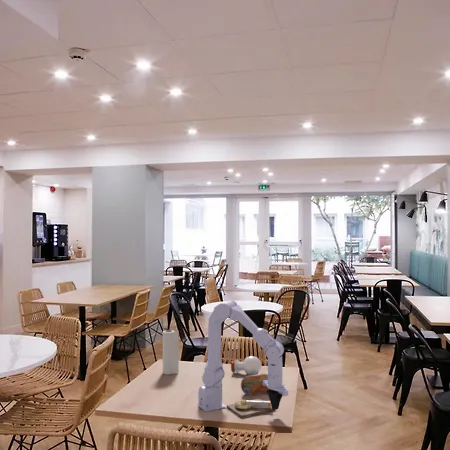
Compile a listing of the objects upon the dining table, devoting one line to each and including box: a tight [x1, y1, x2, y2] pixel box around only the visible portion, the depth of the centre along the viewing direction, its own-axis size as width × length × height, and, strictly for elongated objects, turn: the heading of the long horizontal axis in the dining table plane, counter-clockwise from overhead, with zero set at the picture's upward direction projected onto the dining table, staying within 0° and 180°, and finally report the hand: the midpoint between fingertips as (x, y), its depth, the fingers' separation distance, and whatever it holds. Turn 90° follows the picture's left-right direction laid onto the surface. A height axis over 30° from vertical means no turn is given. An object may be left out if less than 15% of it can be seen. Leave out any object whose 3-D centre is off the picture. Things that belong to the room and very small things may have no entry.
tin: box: [240, 373, 269, 397], centre depth 208 cm, size 15×3×8 cm, turn 105°
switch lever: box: [234, 399, 271, 410], centre depth 189 cm, size 14×7×2 cm, turn 84°
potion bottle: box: [230, 355, 262, 376], centre depth 236 cm, size 9×10×15 cm
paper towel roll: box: [162, 329, 180, 375], centre depth 238 cm, size 7×6×21 cm
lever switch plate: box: [226, 398, 275, 419], centre depth 190 cm, size 16×12×1 cm
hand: (275, 408), depth 183 cm, fingers closed
